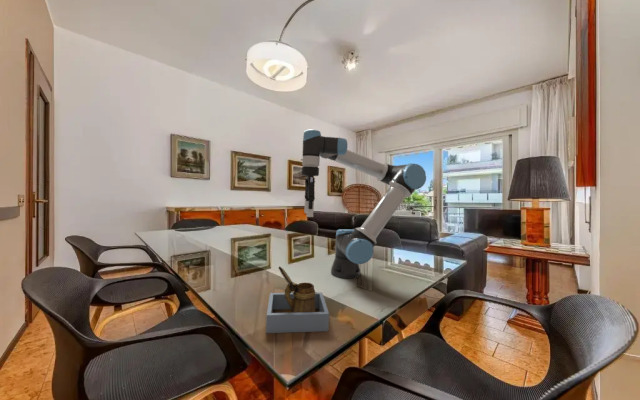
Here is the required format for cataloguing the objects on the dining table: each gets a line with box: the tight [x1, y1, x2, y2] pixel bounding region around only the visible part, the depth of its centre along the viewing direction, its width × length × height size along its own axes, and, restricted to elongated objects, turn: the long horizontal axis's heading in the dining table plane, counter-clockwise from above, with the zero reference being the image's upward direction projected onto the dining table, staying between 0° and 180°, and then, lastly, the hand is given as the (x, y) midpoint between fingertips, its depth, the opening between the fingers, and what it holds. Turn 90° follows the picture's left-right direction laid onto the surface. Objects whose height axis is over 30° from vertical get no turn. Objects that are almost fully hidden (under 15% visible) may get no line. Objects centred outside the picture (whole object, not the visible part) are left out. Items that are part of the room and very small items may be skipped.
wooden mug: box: [278, 266, 317, 313], centre depth 83 cm, size 9×14×18 cm, turn 103°
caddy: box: [265, 291, 330, 334], centre depth 83 cm, size 19×15×6 cm
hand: (308, 215), depth 110 cm, fingers open, 13 cm apart
